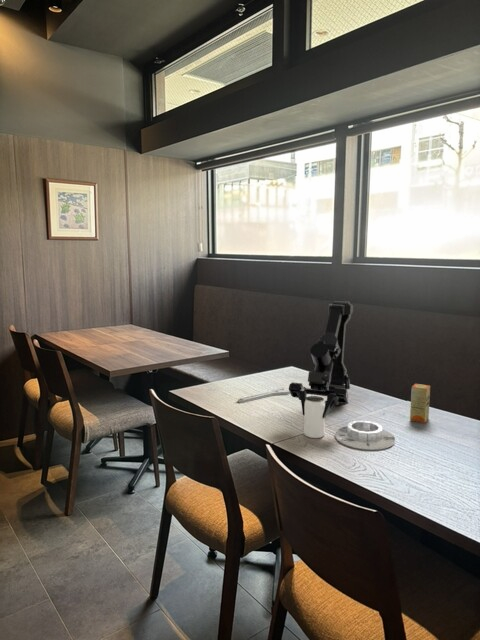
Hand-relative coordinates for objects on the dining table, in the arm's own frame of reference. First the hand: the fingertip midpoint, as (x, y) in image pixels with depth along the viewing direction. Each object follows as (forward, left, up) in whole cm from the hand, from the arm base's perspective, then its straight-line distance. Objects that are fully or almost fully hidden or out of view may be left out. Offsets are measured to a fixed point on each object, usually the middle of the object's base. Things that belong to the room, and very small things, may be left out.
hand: (313, 416), depth 149 cm
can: (-1, -1, -7) cm, 7 cm away
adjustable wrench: (-15, -41, -7) cm, 44 cm away
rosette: (-11, +11, -7) cm, 17 cm away
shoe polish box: (-39, +13, -7) cm, 42 cm away
